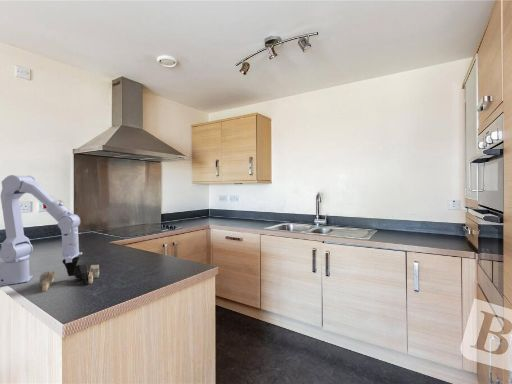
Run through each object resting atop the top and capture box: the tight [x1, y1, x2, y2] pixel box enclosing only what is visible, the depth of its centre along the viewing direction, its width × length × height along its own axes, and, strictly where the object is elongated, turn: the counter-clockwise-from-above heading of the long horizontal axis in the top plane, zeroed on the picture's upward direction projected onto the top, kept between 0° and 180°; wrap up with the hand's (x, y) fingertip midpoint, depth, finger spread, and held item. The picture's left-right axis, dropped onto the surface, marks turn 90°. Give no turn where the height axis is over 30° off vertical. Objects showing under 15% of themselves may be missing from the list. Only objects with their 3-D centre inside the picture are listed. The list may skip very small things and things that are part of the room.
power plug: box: [73, 263, 91, 286], centre depth 111 cm, size 6×8×12 cm
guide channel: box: [39, 264, 100, 293], centre depth 112 cm, size 20×18×4 cm
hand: (71, 275), depth 114 cm, fingers closed
